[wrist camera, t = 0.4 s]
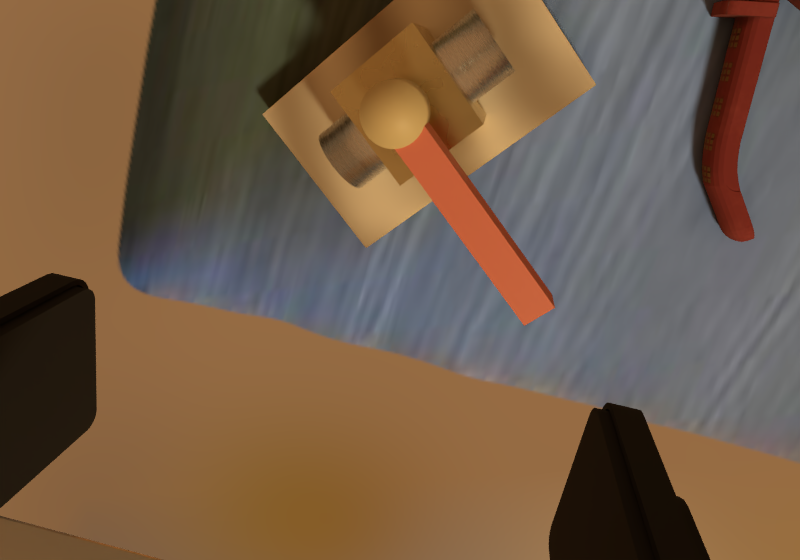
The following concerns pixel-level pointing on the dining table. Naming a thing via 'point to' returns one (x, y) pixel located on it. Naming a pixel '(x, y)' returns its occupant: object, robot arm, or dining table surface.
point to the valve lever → (452, 191)
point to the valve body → (441, 81)
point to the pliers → (735, 109)
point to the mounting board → (504, 104)
